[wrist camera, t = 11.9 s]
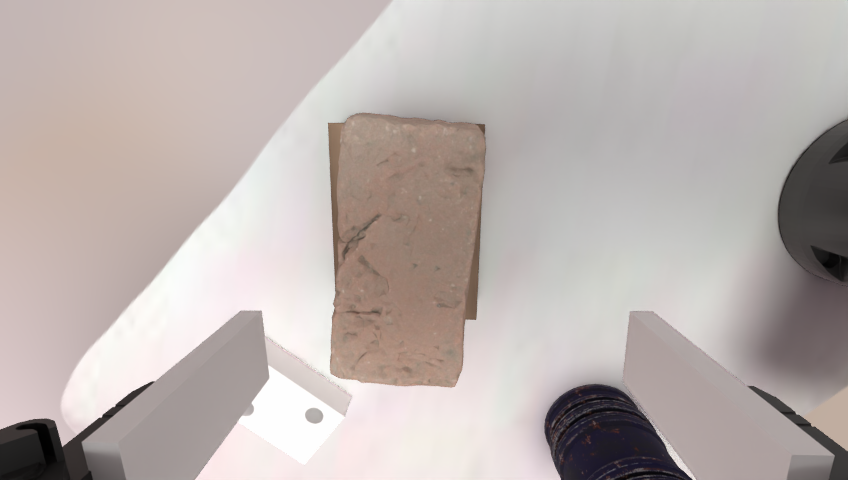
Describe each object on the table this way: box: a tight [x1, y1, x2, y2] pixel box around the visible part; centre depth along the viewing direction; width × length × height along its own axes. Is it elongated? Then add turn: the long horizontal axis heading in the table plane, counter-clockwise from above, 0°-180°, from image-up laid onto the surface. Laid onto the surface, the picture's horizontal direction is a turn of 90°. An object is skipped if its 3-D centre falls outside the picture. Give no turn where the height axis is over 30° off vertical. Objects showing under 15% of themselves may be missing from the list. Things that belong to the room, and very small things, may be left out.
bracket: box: [238, 337, 352, 465], centre depth 38 cm, size 13×7×8 cm, turn 52°
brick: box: [330, 113, 486, 387], centre depth 25 cm, size 17×8×5 cm, turn 175°
